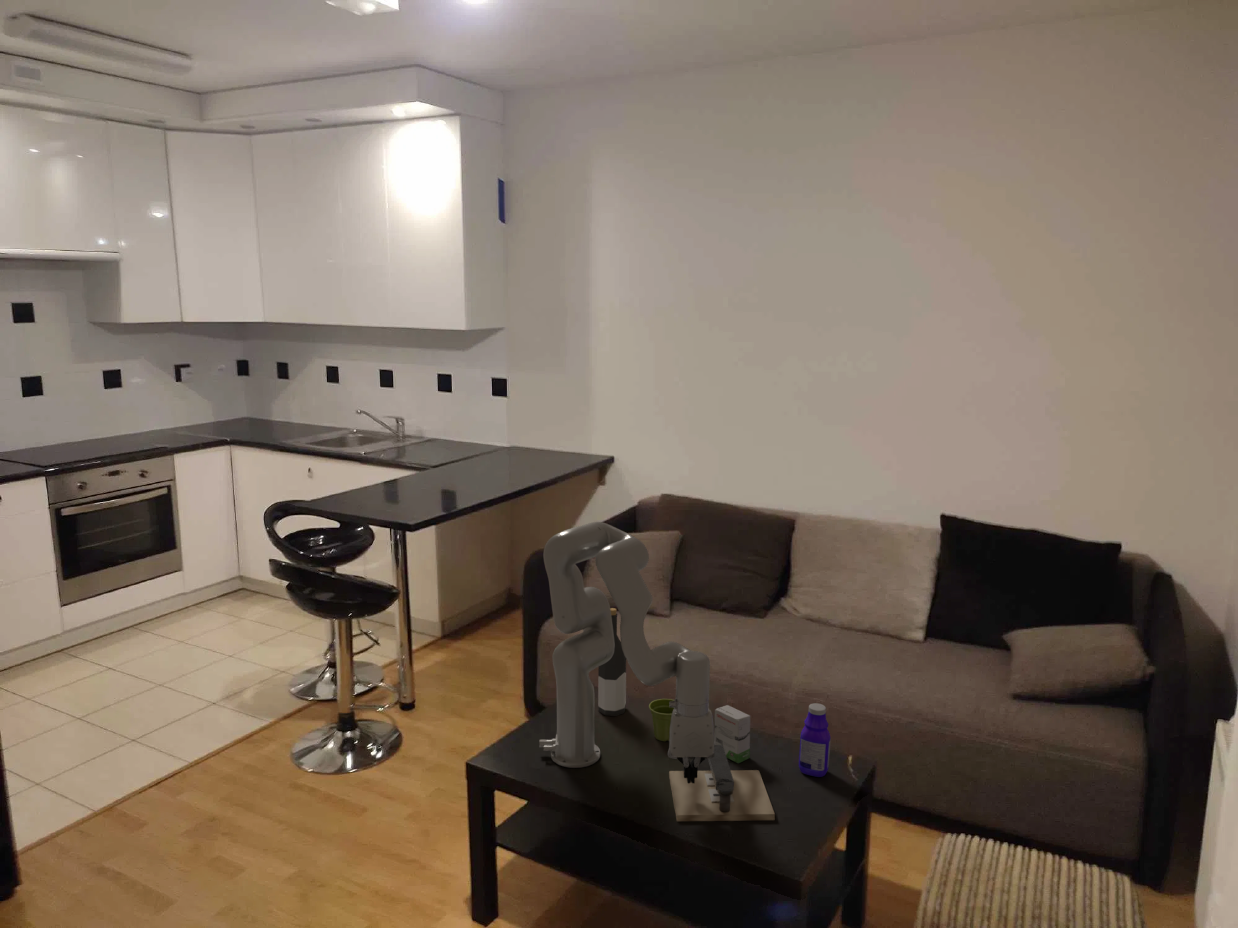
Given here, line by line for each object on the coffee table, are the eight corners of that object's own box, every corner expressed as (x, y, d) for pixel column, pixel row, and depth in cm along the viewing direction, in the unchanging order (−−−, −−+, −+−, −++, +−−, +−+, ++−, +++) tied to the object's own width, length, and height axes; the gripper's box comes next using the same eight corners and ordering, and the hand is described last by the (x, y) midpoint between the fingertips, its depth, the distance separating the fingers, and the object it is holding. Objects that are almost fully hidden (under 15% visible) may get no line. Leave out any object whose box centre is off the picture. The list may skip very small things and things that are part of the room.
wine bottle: (607, 701, 258) (607, 602, 253) (631, 707, 254) (632, 607, 249) (592, 711, 252) (592, 610, 246) (617, 718, 248) (617, 616, 242)
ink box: (750, 758, 227) (752, 714, 225) (737, 764, 224) (738, 720, 222) (726, 745, 233) (727, 703, 231) (712, 750, 230) (713, 708, 228)
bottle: (830, 769, 221) (834, 704, 218) (825, 780, 216) (829, 714, 213) (801, 763, 224) (804, 698, 221) (796, 774, 219) (799, 708, 216)
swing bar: (717, 795, 198) (717, 787, 198) (706, 752, 217) (706, 744, 217) (735, 795, 198) (735, 787, 198) (722, 752, 217) (722, 744, 217)
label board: (676, 821, 199) (677, 798, 198) (669, 776, 218) (669, 755, 217) (774, 819, 200) (775, 797, 199) (758, 775, 218) (759, 754, 217)
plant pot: (660, 724, 244) (661, 695, 243) (690, 734, 239) (690, 704, 237) (641, 738, 237) (642, 707, 235) (671, 748, 231) (672, 717, 230)
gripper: (660, 713, 198) (659, 789, 201) (727, 713, 199) (725, 788, 202) (658, 698, 206) (656, 772, 209) (722, 698, 206) (720, 771, 209)
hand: (690, 780), depth 205 cm, fingers closed
